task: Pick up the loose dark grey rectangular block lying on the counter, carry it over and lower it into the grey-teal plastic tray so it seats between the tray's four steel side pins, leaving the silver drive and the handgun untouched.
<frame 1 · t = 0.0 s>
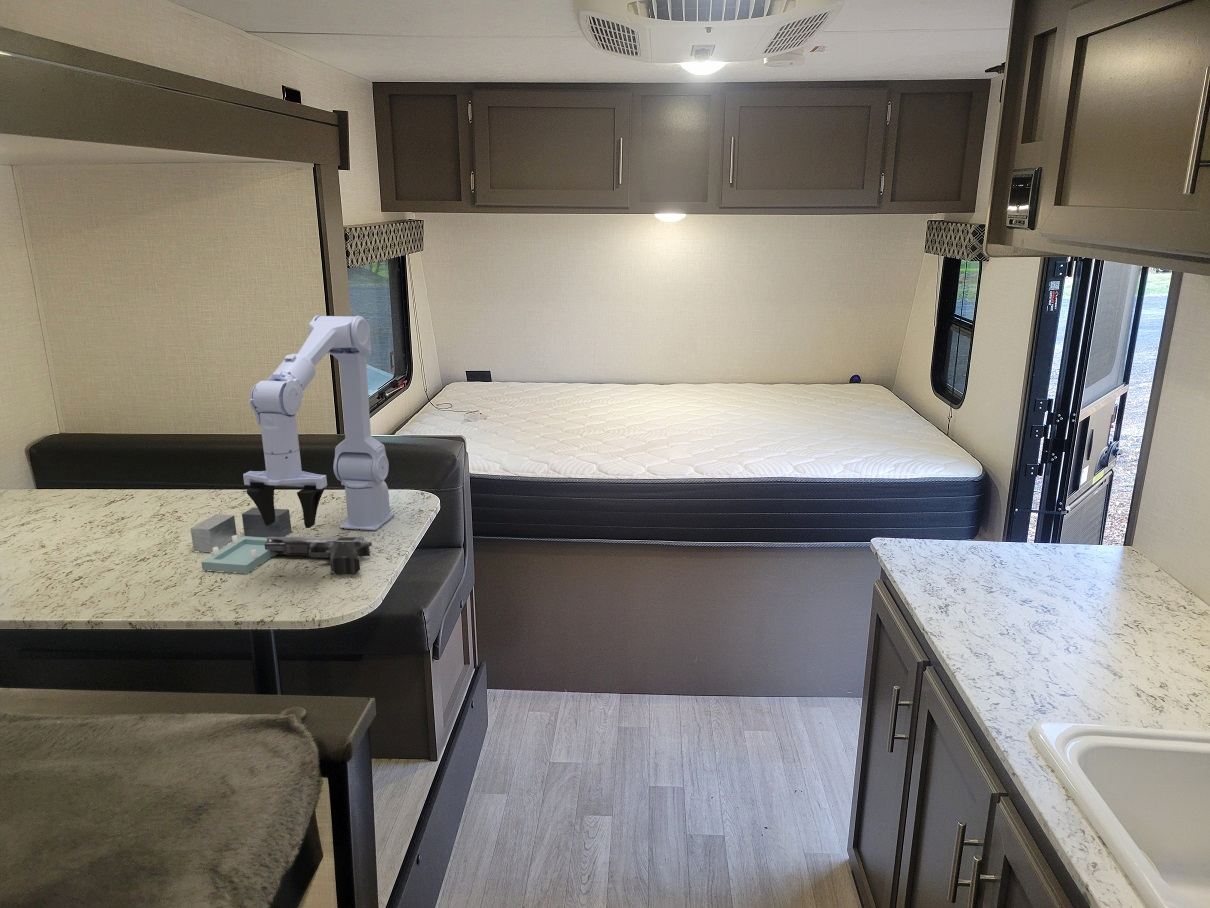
hand: (290, 524, 147), 10 cm above the table, tool pointing down, fingers open, 7 cm apart
dark grey rectangular block: (268, 534, 171), on the table
tray: (245, 558, 158), on the table
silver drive: (216, 545, 165), on the table
handgun: (313, 562, 156), on the table, touching tray
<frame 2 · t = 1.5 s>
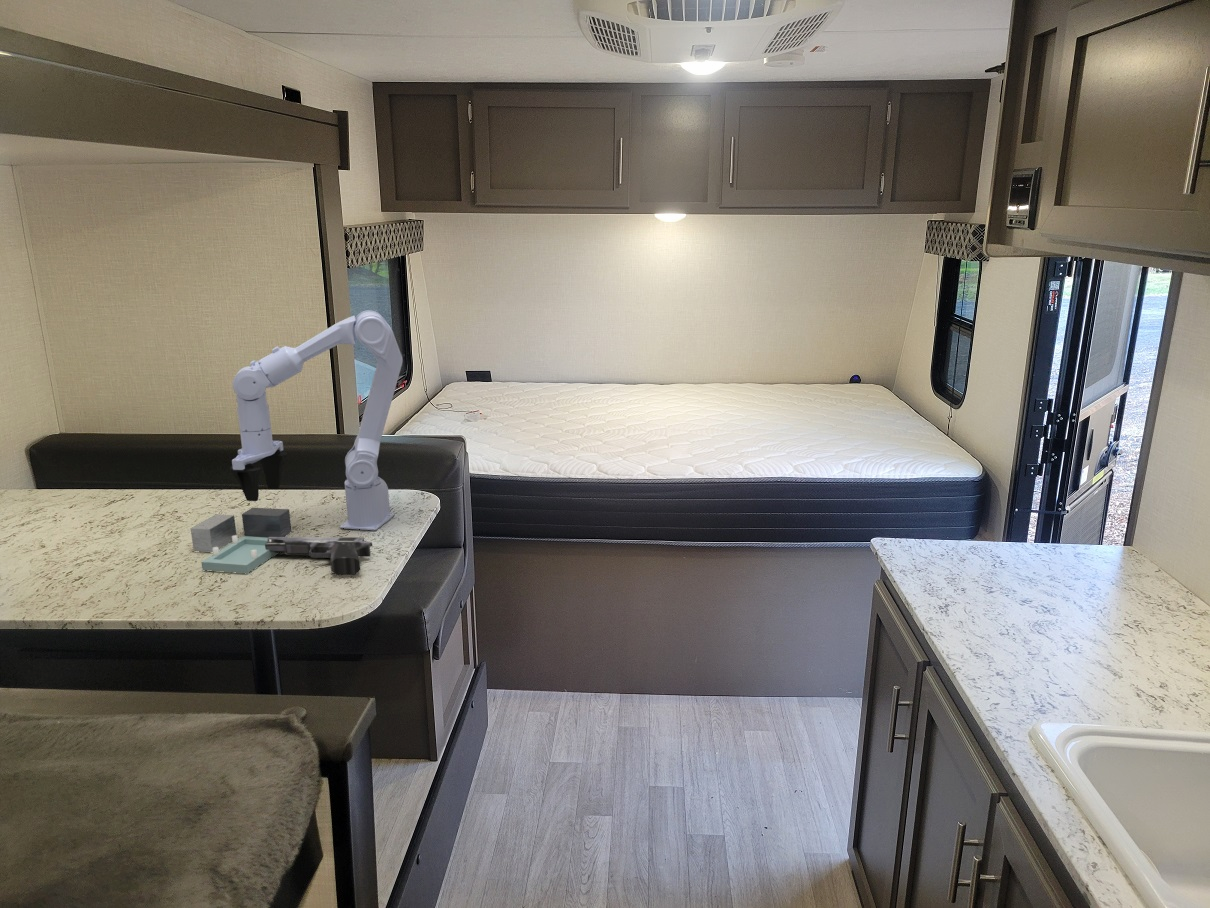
hand: (263, 494, 168), 9 cm above the table, tool pointing down, fingers open, 7 cm apart
nothing on the table moved.
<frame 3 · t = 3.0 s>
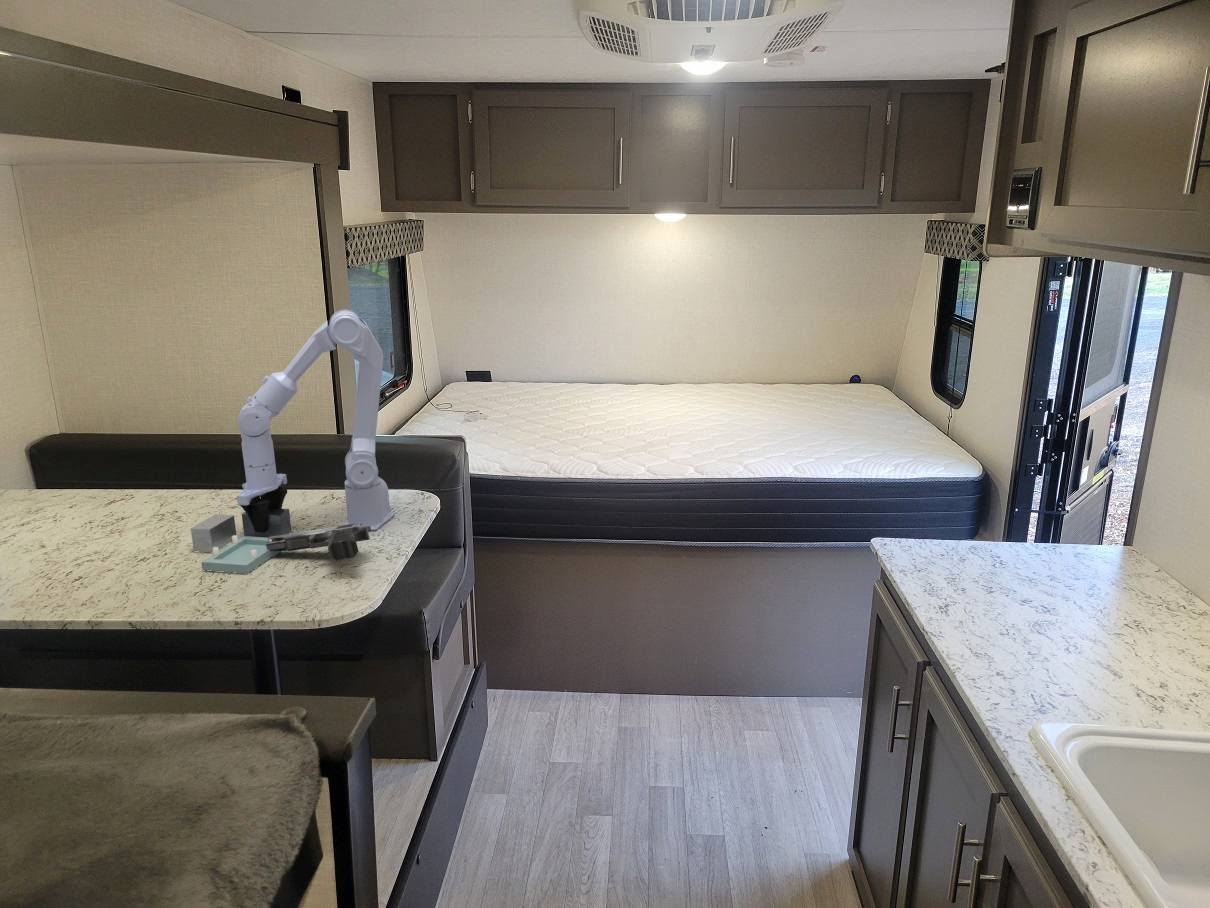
hand: (267, 527, 170), 1 cm above the table, tool pointing down, fingers closed on dark grey rectangular block, 4 cm apart
dark grey rectangular block: (268, 534, 171), on the table, touching gripper
handgun: (315, 553, 155), point 2 cm above the table, touching tray
everything else where it was.
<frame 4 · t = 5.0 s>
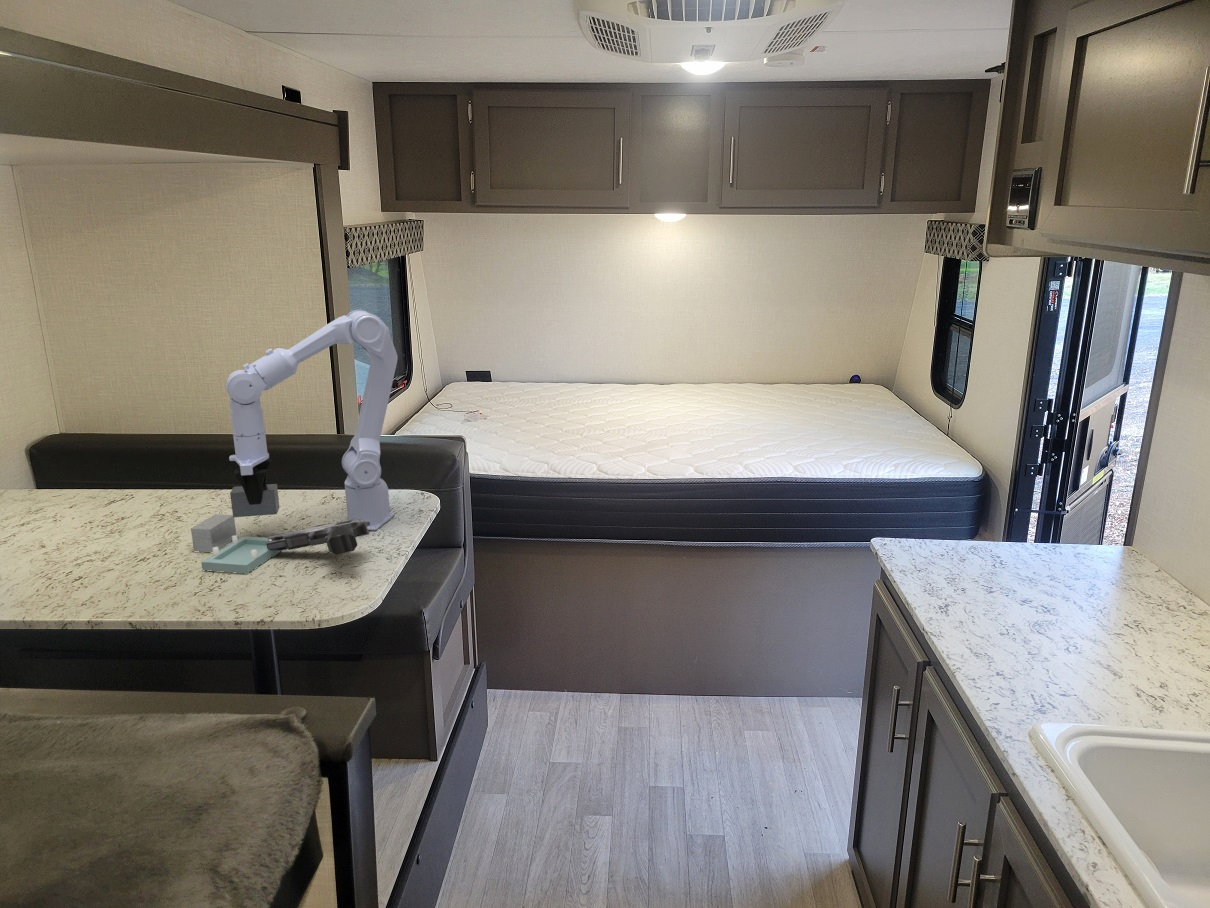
hand: (257, 500, 165), 8 cm above the table, tool pointing down, fingers closed on dark grey rectangular block, 4 cm apart
dark grey rectangular block: (256, 512, 166), point 6 cm above the table, touching gripper
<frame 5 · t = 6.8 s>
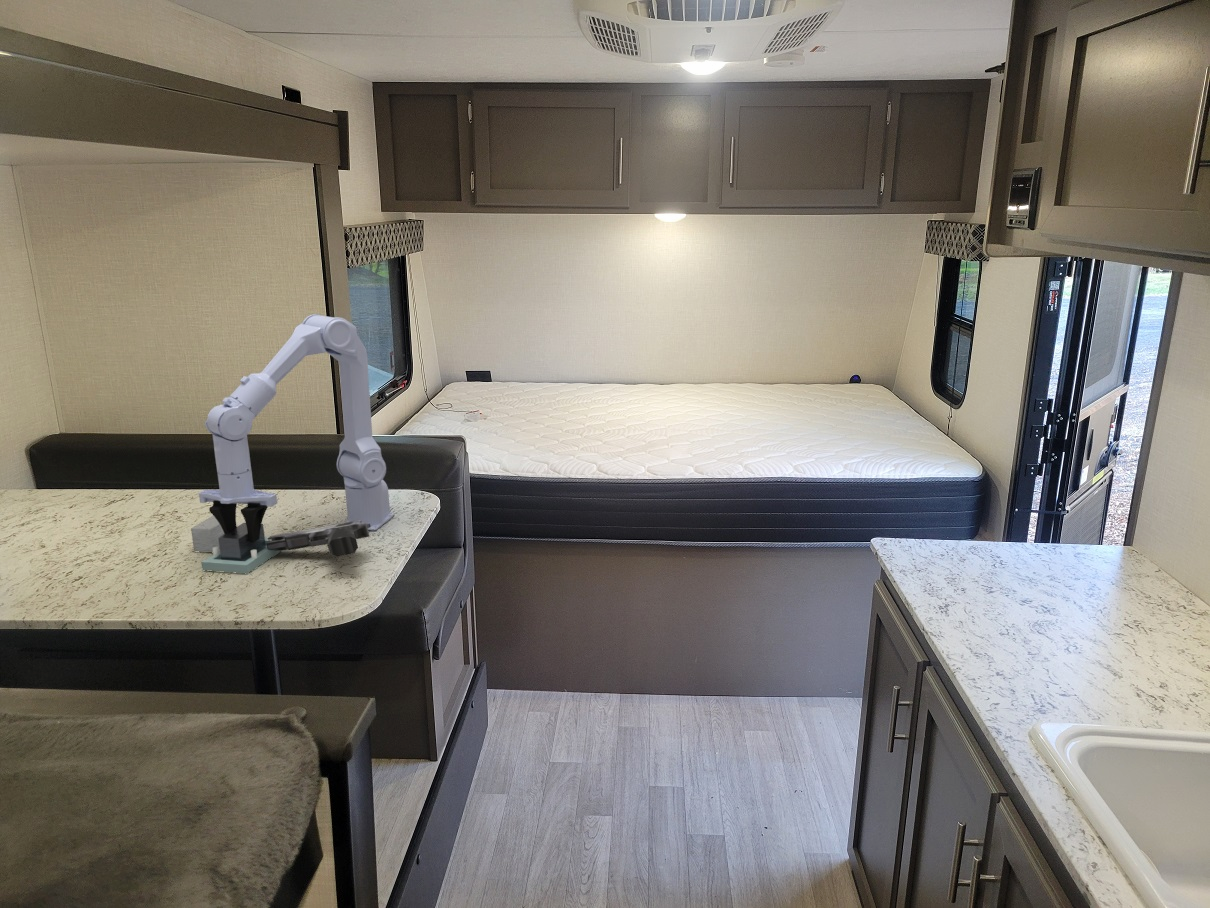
hand: (243, 539, 157), 4 cm above the table, tool pointing down, fingers closed on dark grey rectangular block, 4 cm apart
dark grey rectangular block: (244, 555, 158), point 1 cm above the table, touching gripper, tray
everything else where it was.
when the fingers open (4 cm above the table, at t = 7.4 s): dark grey rectangular block stays where it is, resting on tray.
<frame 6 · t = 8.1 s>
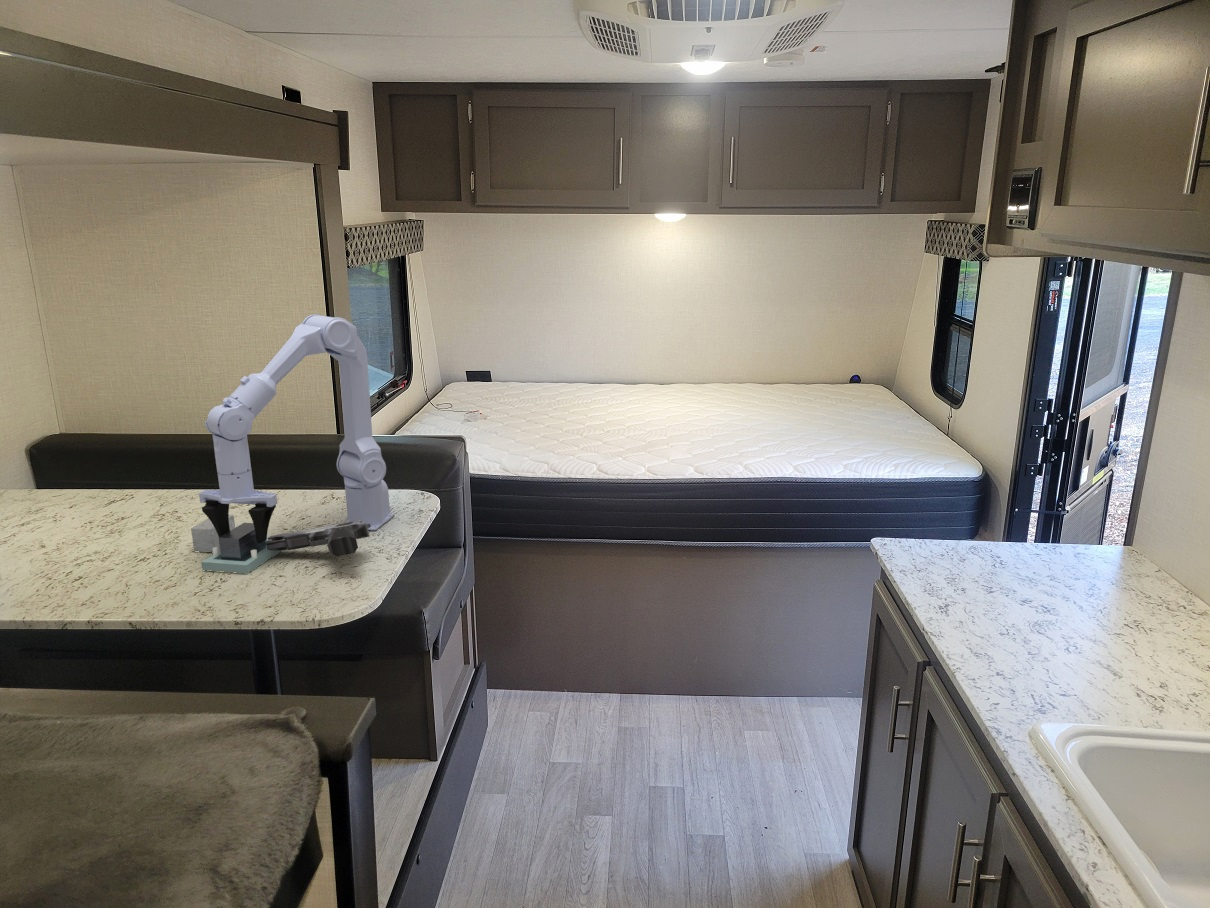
hand: (243, 540, 157), 4 cm above the table, tool pointing down, fingers open, 7 cm apart
dark grey rectangular block: (244, 555, 158), point 1 cm above the table, touching tray
everything else where it was.
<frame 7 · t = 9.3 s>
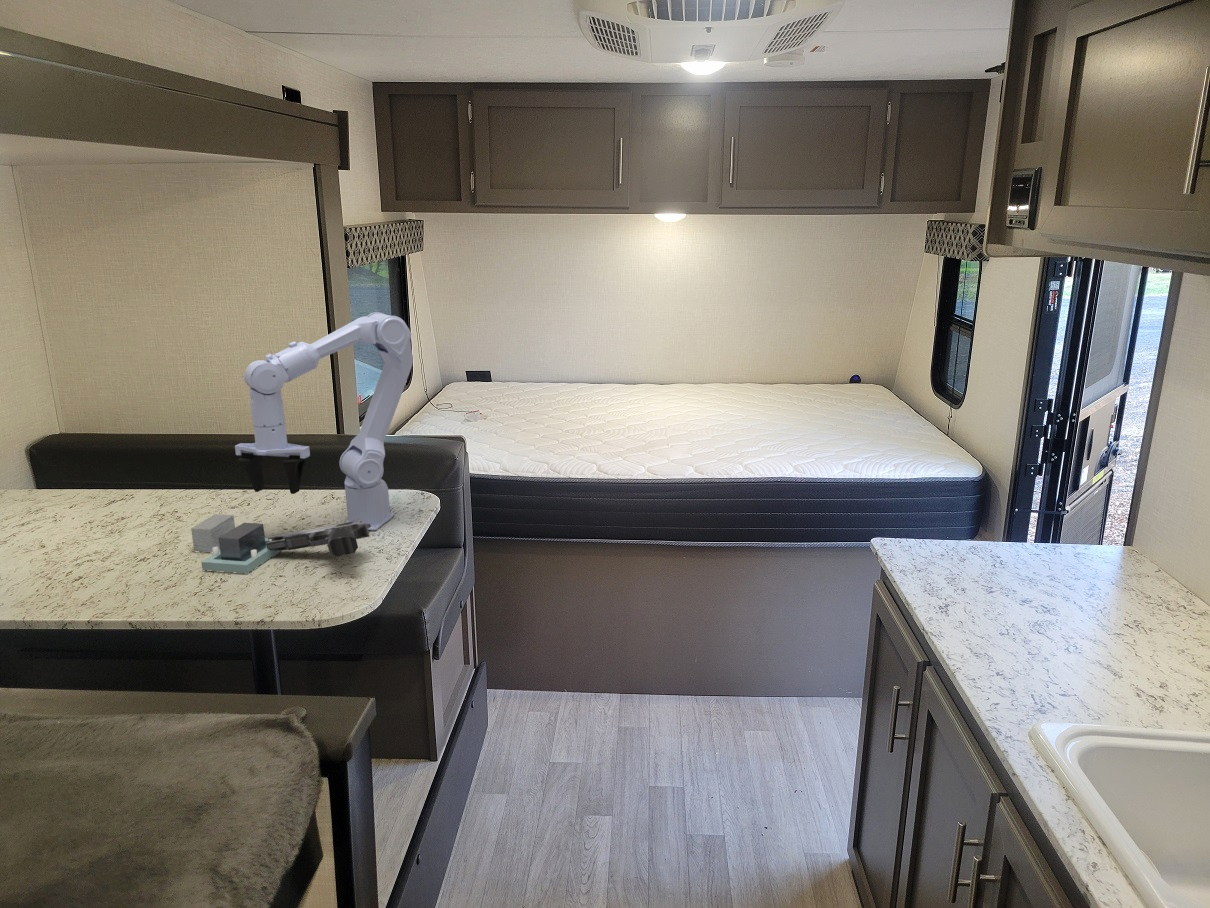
hand: (277, 491, 164), 10 cm above the table, tool pointing down, fingers open, 7 cm apart
nothing on the table moved.
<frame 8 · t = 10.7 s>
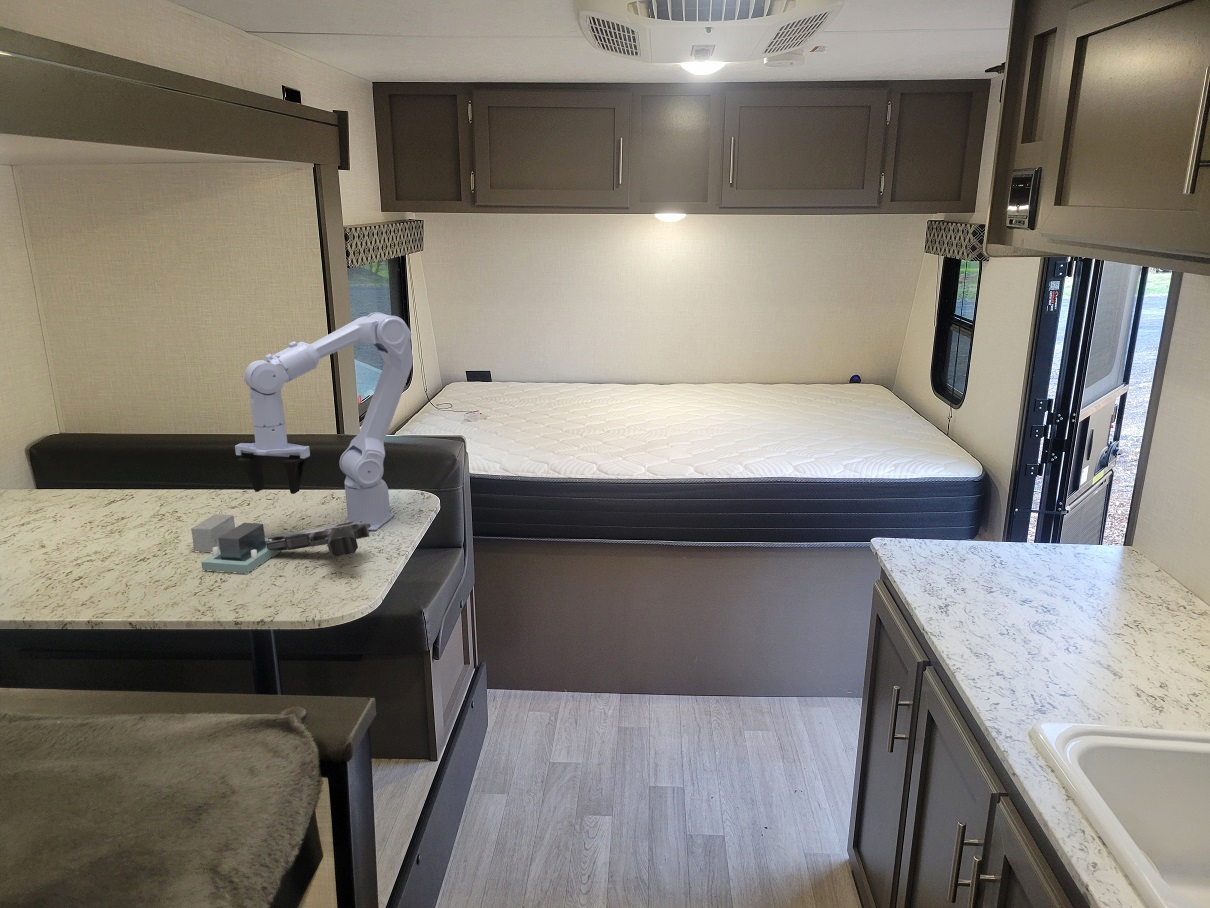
hand: (277, 491, 164), 10 cm above the table, tool pointing down, fingers open, 7 cm apart
nothing on the table moved.
at the end: dark grey rectangular block 0.3 cm off-centre on the tray, point 0.8 cm above the tray's base; dark grey rectangular block tilted 0°; the gripper is holding nothing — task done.
